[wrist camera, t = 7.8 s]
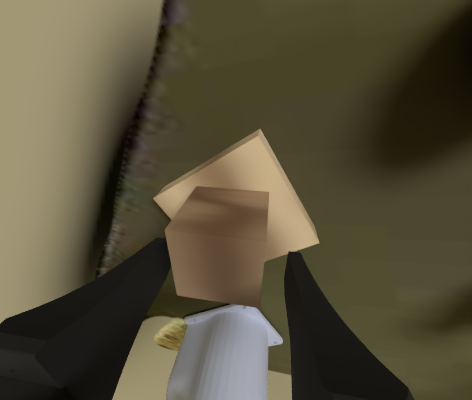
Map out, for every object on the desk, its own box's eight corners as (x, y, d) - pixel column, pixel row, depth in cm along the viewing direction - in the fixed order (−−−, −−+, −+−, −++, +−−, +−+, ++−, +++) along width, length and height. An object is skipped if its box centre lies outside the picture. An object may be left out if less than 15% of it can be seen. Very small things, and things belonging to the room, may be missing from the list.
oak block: (225, 256, 21) (220, 276, 19) (167, 184, 18) (152, 198, 16) (313, 223, 18) (319, 243, 16) (260, 127, 15) (258, 135, 13)
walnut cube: (201, 241, 17) (177, 295, 13) (196, 186, 15) (164, 229, 11) (263, 249, 17) (259, 308, 12) (269, 192, 14) (266, 241, 10)
